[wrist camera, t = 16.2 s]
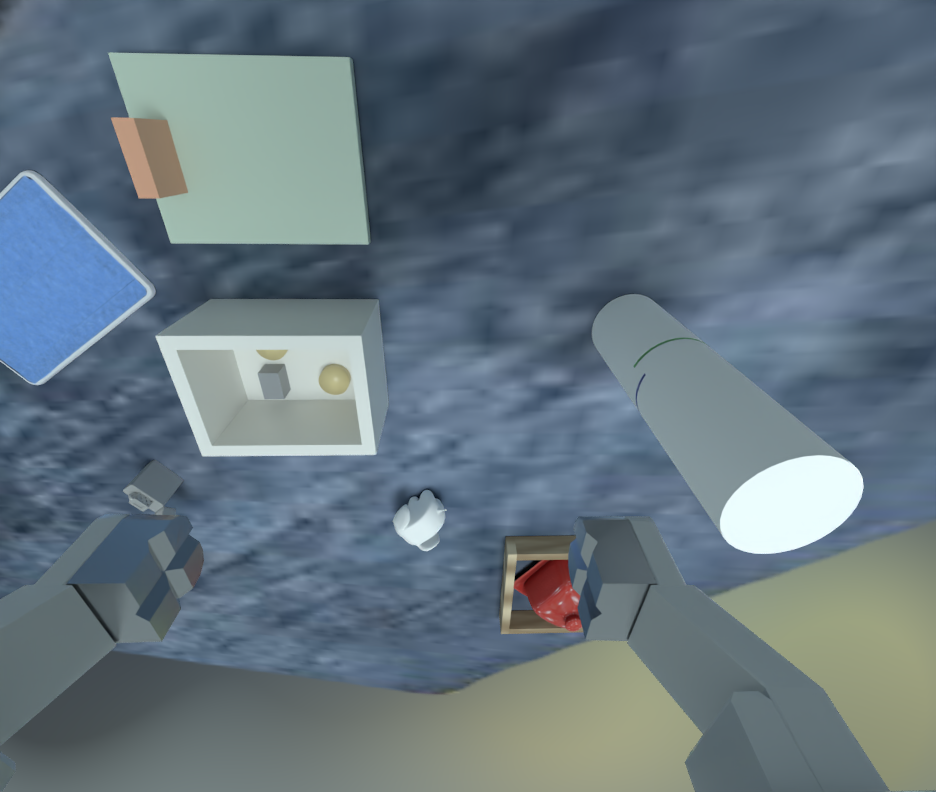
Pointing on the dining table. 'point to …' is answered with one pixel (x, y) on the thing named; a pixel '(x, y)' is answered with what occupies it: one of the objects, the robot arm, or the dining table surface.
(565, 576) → the butter dish
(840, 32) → the dining table surface
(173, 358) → the parts tub
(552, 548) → the wooden frame
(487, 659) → the dining table surface
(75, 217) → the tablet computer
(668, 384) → the cylindrical container
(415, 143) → the dining table surface
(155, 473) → the lighter
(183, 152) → the lid
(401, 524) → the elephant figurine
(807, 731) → the robot arm
